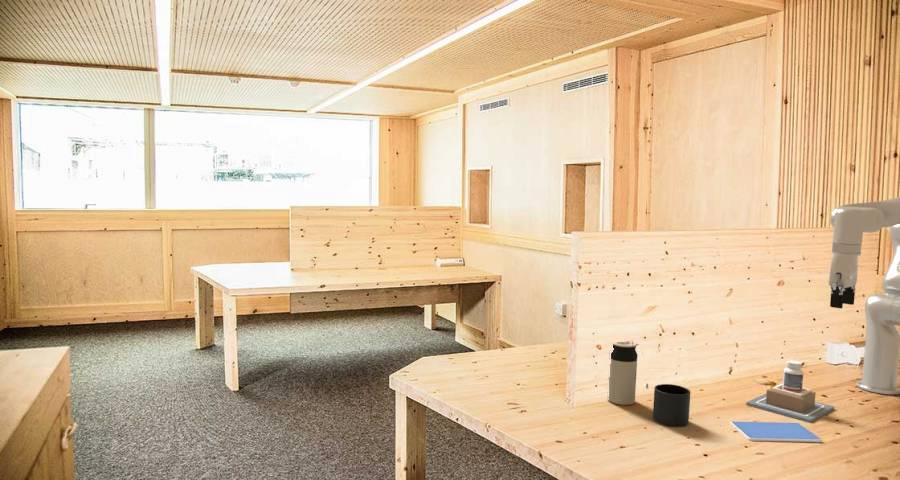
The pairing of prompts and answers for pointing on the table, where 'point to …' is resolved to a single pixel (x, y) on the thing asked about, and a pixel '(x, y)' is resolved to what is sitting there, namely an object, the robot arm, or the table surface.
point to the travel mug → (623, 373)
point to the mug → (671, 405)
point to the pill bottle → (793, 377)
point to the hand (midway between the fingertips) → (842, 305)
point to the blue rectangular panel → (775, 431)
